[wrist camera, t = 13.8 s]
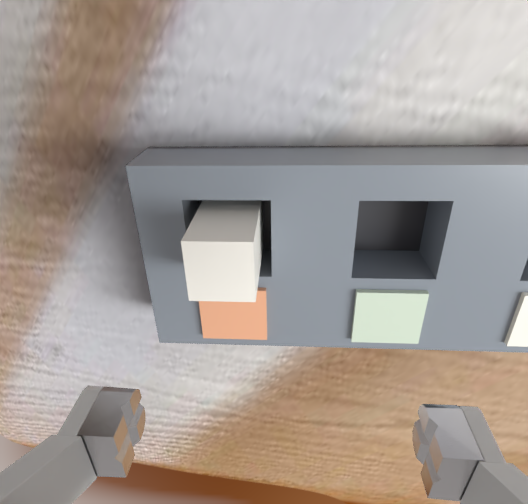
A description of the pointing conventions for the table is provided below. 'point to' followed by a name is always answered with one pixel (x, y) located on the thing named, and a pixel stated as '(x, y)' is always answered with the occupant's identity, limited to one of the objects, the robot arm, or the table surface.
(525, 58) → the table surface
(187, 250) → the plug
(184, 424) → the table surface
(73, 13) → the table surface
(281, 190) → the socket block
